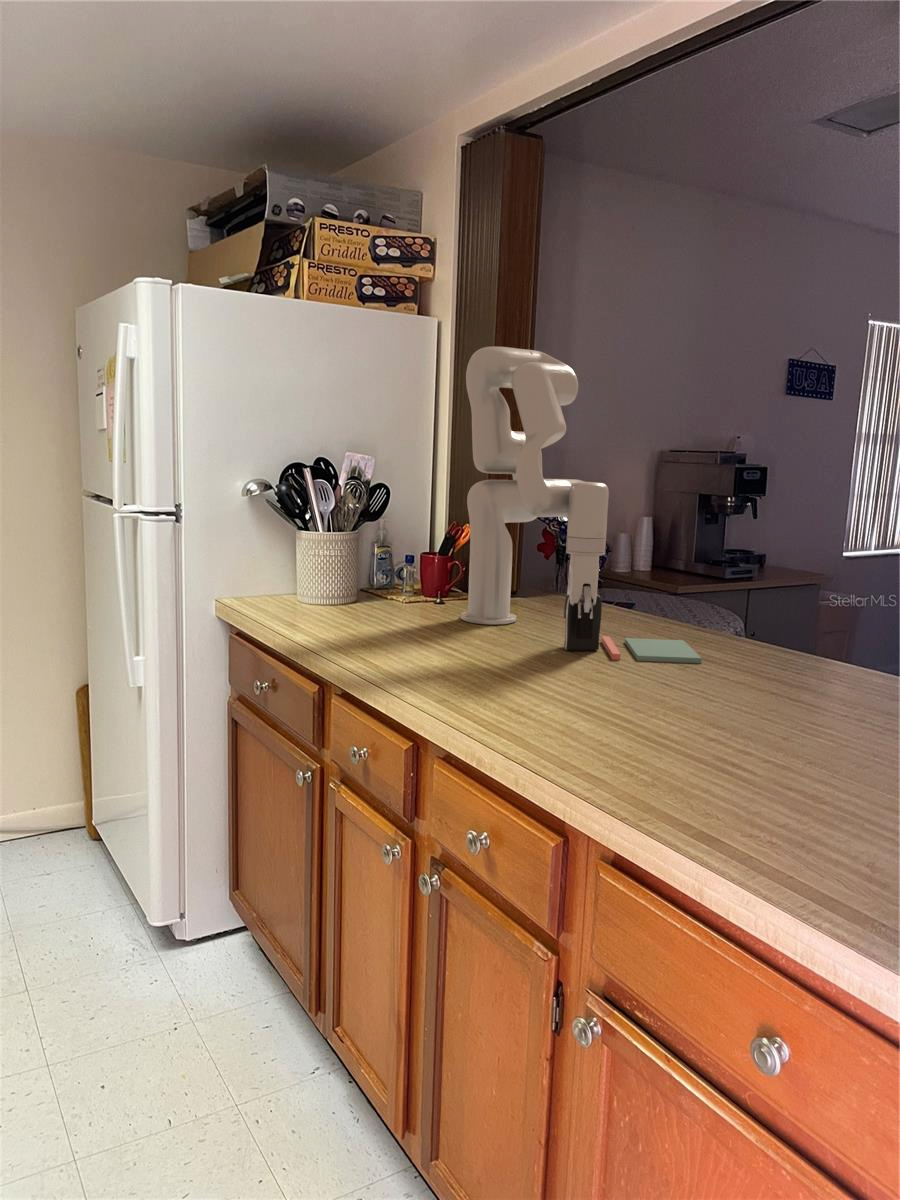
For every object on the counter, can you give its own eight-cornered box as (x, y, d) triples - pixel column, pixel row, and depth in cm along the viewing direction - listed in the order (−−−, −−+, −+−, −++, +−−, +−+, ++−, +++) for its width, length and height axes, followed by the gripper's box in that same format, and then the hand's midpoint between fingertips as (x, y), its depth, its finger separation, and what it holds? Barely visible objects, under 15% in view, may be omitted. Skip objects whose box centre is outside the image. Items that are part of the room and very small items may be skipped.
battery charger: (593, 647, 184) (596, 590, 182) (600, 651, 180) (603, 594, 178) (560, 647, 182) (563, 590, 181) (566, 651, 179) (569, 594, 177)
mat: (624, 642, 189) (624, 637, 189) (683, 645, 189) (683, 640, 188) (637, 660, 173) (637, 655, 173) (701, 663, 173) (701, 658, 173)
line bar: (601, 641, 189) (601, 636, 189) (608, 642, 189) (609, 636, 189) (612, 659, 173) (612, 653, 173) (620, 660, 173) (620, 653, 173)
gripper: (562, 541, 187) (558, 624, 190) (570, 550, 169) (565, 642, 172) (599, 542, 186) (594, 626, 189) (611, 551, 169) (605, 644, 172)
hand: (581, 633), depth 181 cm, fingers open, 8 cm apart
